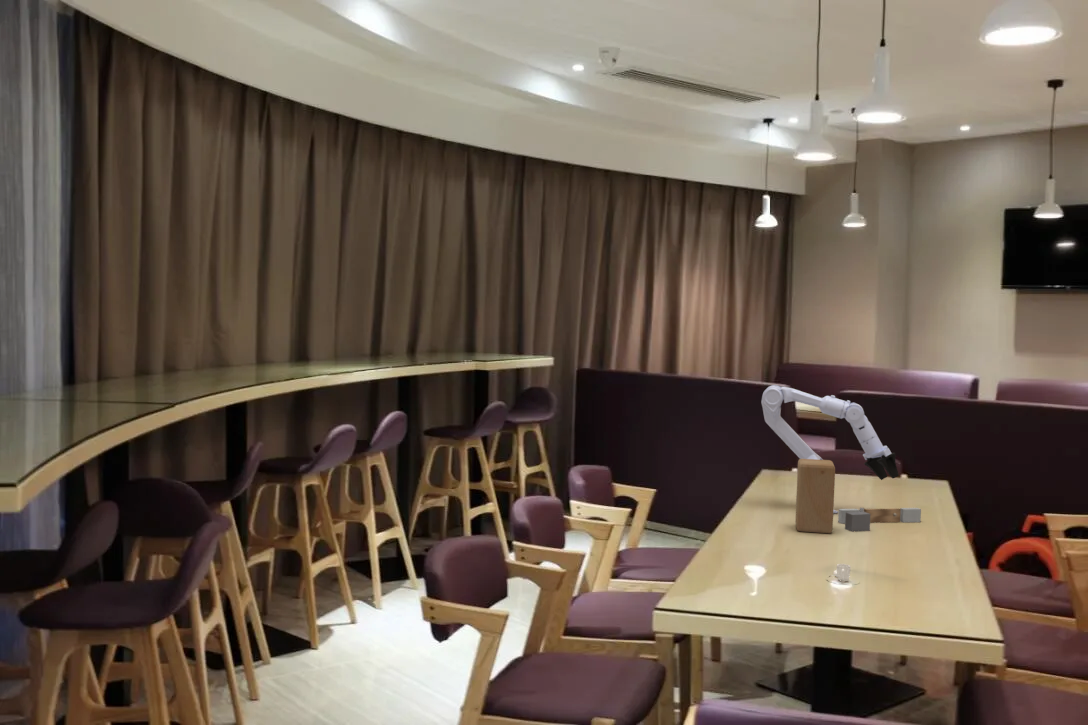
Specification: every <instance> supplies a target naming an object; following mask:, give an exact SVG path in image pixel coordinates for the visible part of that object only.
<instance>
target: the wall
mask: <svg viewBox="0 0 1088 725" xmlns="http://www.w3.org/2000/svg"><path fill="white" fill-rule="evenodd" d="M864 509H865V508H864V507H859V509H858V508H839V509H838V513H837V515H838V516H837V517H838V518H837V519H838V520H837V522H838V523H840V525H841V524H844V525H845V516H846V512H864ZM899 509H901V512H900V523H921V520H922V519H921V518H922V516H921V515H922V508H918V507H899Z"/></svg>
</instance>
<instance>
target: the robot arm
mask: <svg viewBox="0 0 1088 725" xmlns="http://www.w3.org/2000/svg"><path fill="white" fill-rule="evenodd" d="M789 402H797V403H800V404H805V405H808V406H811V407H815V408H818V409H819V410H820V412H821V413H822V414H824V415H828V416H831V417H835V418H838V419H841V420H842V419H845V420H846V421H847V423H849V424H850V426H851V428H852V431H853V433H854V435H855V436H856V438H857V440H858V443H859V444H860V446H861V448H862V450H863V451H864V453H863V454H862V456H863V458H864V460H865V461H866V462H864V463H863V465H865V466H866V467H867V468H868V469H870V470H871V471H872V472H874V474H875V475H876V476H877V477H878V478H879V480H881V481H882V480H885V479H886V478H888V475H889V477H890V478H892V479H895V478H897V477H899V475H900V474H899V470H898V467H897V462H896V452H891V450H890V448H889V447H888V446H887V445H883V443H882V442H881V440H880V438H879V436H878V434H877V432H876V431H875V429H874V427H873V425H872V423H871V422H870V421H869V419H868V417H867V416H866V415H865V411H864V408H863V406H861V405H860V404H858V403H856V402H851V400H848V399H847V400H843V399H839V398H837V397H836V396H835V395H833V394H831V395H825V396H824V397H823V396H822V397H820V396H817V395H813V394H811V393H807V392H804V391H801V390H799V389H795V388H792V387H788V386H780V385H777V384H772V385H769V386H768V387H767V388H766V389H765V390H764V391H763V393H762V396H761V407H762V412H763V418H764V422H765V423H766V424H767V425H768V426H769V428H770V429H771V430H772V431H773V432H774V433H775V435H777V436H778V437H779V438H780V440H782V442H784V443H785V445H786V446H788V448H789V449H790V450H791V451H792V452H793V453H794V454H795V455H796V456H797V457H798V458H799V459H817V460H824V459H823V458H822V457H821V456H820V455H818V454H817V452H815V451H814V450H813V449H812V448H811V447H810V446H809V445H808V444H807V442H805V441H804V439H802V438H801V436H800V435H799V434H798V433H797V432H796V431H795V430H794V429H793V427H791V426H790V425H789V424H788V423H787V421H786V420H785V419H784V418H783V417H782V416H781V414H782V413H781V410H782V404H783V403H784V404H786V403H789ZM887 473H888V474H887ZM833 514H839V510H836V509H833Z"/></svg>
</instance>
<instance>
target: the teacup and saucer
mask: <svg viewBox="0 0 1088 725" xmlns="http://www.w3.org/2000/svg"><path fill="white" fill-rule="evenodd" d="M850 575H851V565H849V564H847V563H846V564H845V563H837V564H836V569H835V570H833V576H836V577H835V578H837V580H838V581H839V580H841V581H847V582H848V581H850V580H849V577H851V576H850ZM841 581H840V582H841Z"/></svg>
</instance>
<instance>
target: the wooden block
mask: <svg viewBox="0 0 1088 725" xmlns="http://www.w3.org/2000/svg"><path fill="white" fill-rule="evenodd" d="M796 474H797V476H796V496H795V497H796V499H795V500H796V501H795V521H794V522H795V527H796V530H797V531H798V532H801V533H813V534H814V533H817V534H818V533H819V534H832V532H833V529H834V528H833V526H834V513H833V509H834V508H835V507H834V505H835V503H834V501H835V485H836V484H835V482H836V480H835V479H836V467H835V465H834V462H833V461H832V460H830V459H823V460H817V459H800V458H799V459H798V461H797V473H796ZM834 510H835V509H834Z"/></svg>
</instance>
